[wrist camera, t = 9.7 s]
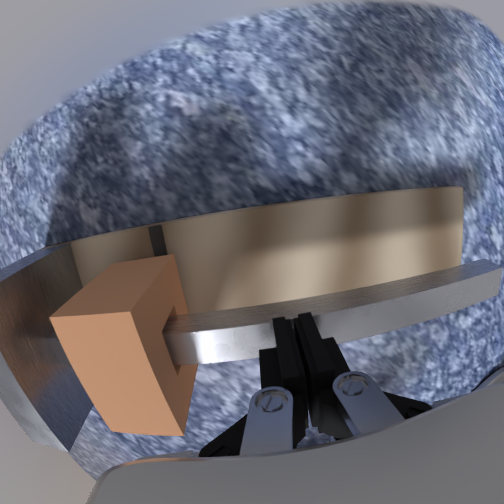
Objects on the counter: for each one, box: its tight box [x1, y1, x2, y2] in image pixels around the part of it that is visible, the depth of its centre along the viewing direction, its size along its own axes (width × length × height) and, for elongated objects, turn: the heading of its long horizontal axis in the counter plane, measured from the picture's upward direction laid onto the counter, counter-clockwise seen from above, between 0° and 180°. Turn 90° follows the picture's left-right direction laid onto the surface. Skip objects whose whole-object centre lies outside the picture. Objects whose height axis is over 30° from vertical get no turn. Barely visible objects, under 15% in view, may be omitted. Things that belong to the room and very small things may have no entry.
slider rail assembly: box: [0, 243, 503, 452], centre depth 14 cm, size 30×10×10 cm, turn 98°
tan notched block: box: [49, 254, 198, 436], centre depth 13 cm, size 4×7×7 cm, turn 8°
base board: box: [40, 186, 463, 314], centre depth 18 cm, size 31×10×1 cm, turn 98°
